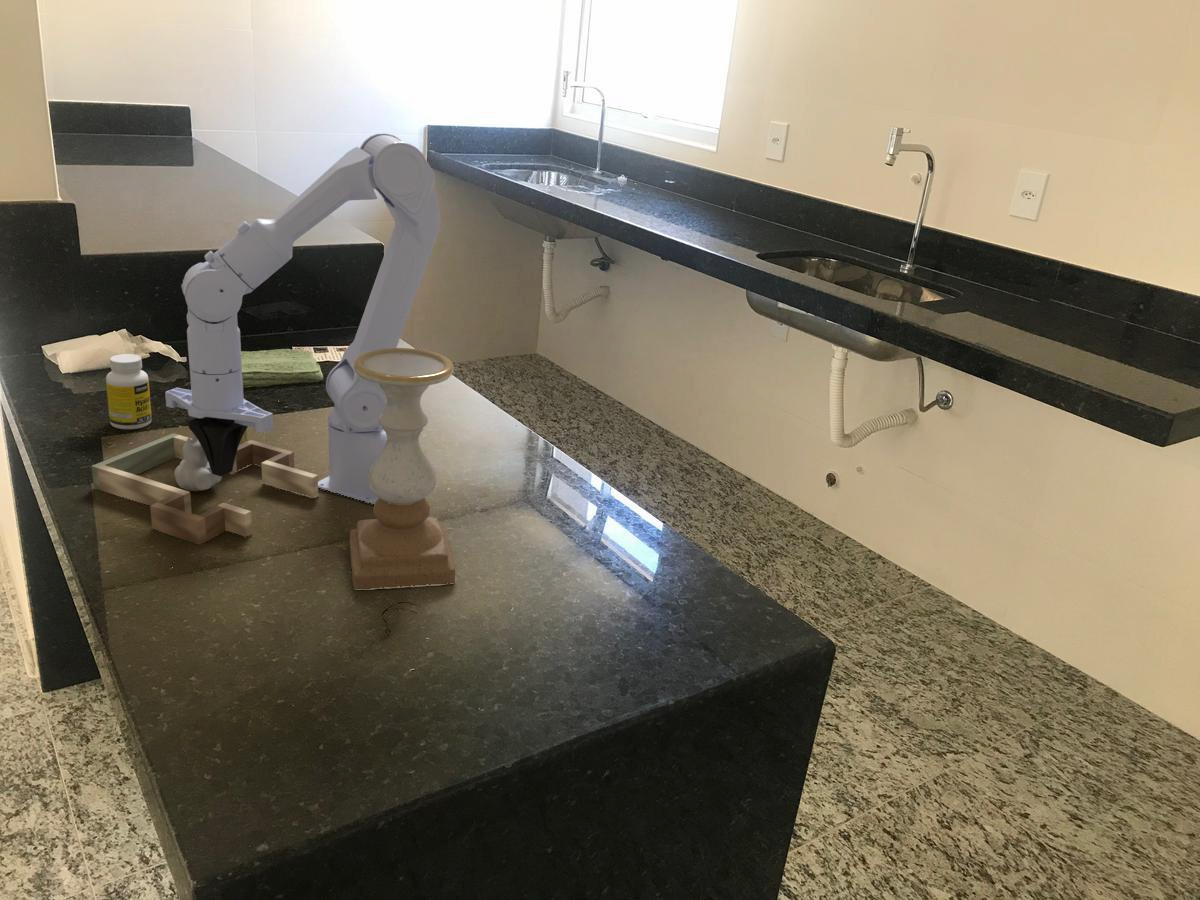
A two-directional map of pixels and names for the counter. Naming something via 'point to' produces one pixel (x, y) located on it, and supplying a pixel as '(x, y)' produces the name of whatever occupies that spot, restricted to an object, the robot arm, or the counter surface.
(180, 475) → the white animal figurine
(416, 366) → the candle holder
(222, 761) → the counter surface
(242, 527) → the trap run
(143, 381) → the supplement bottle
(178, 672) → the counter surface
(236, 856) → the counter surface
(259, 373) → the washcloth
